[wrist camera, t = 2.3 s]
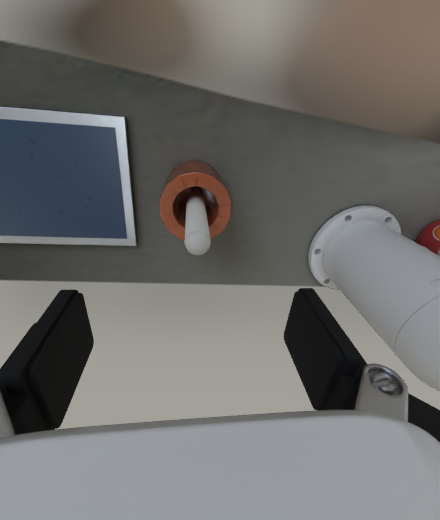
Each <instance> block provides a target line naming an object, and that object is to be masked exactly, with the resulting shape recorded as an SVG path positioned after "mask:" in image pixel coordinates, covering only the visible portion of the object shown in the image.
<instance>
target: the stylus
mask: <svg viewBox="0 0 440 520" xmlns="http://www.w3.org/2000/svg"><path fill="white" fill-rule="evenodd" d="M210 244H211V240H210V233H209V227H208V221H207V214H206V208H205V202H204V196H203V191H202V189H201V188H200V187H198V186H195V187H190V188H189V189H188V191H187V203H186V223H185V247H186V249H187V250H188V251H189V252H190V253H191V254H194V255H202V254H204V253H206V252H207V251H208V249H209V248H210Z"/></svg>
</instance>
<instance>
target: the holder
mask: <svg viewBox="0 0 440 520" xmlns="http://www.w3.org/2000/svg"><path fill="white" fill-rule="evenodd" d="M195 186H198V187H200V188H201V189H202V191H203V196H204V202H205V208H206V214H207V221H208V227H209V233H210V239H212V238H213V237H215V236H216V235H218V234H219V233H221V232H222V231H223V230H224V228H225V226H226V225H227V223H228V222H229V220H230V215H231V205H232V204H231V200H230V197H229V195H228V192H227V189H226V187H225V185H224V183H223V181H222V179H221V177H220V175H219V173H217V171H216V170H215V169H214V168H213V167H211V166H210V165H209V164H206V163H204V162H201V161H187V162H184V163H181V164H180V165H178V166H177V167H176V168H174V170H172V171H171V173H170V175H169V177H168V179H167V181H166V184H165V186H164V189H163V192H162V194H161V197H160V201H159V202H160V217H161V219H162V220H163V222H164V224H165V226H166V228H167V229H168V231H170V232H171V233H172V234H174V235H175V236H177V237H178V238H179V239H182V240H185V223H186V203H187V191H188V189H189V188H190V187H195Z"/></svg>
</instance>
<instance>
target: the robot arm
mask: <svg viewBox="0 0 440 520" xmlns="http://www.w3.org/2000/svg"><path fill="white" fill-rule="evenodd" d="M308 264H309V268H310V270H311V272H312V274H313V275H314V277H315V278H316V279H317V280H318V282H320V283H321V284H322V285H324V286H326V287H328V288H331V289H337V290H341V291H342V292H343V294H344V295H345V296H346V297H347V298H348V299H349V300H350V302H351V303H352V304H353V305H354V306H355V308H356V309H357V310H358V311H359V312H360V313H361V315H362V316H363V317H364V318H365V319H366V320H367V321H368V323H369V324H370V325H371V326H372V327H373V329H374V330H375V331H376V332H377V333H378V334H379V336H380V337H381V338H382V339H383V340H384V341H385V342H386V344H387V345H388V346H389V347H390V348H391V349H392V351H393V352H394V353H395V354H396V355H397V357H398V358H399V359H400V360H401V361H402V362H403V363H404V364H405V366H406V367H407V368H408V369H409V370H410V371H411V372H412V373H413V374H414V375H415V376H416V377H417V378H418V379H420V380H421V381H423V382H424V383H426V384H427V385H429V386H430V387H432V388H434V389H436V390H438V391H440V256H438V255H437V254H435V253H433V252H431V251H429V250H428V249H427V248H426V247H424V246H421V245H419V244H417V243H415V242H414V241H412V240H410V239H408V238H406V237H405V236H403V235H401V228H400V225H399V223H398V221H397V220H396V218H395V217H394V216H393V215H392V214H390V213H389V212H388V211H386V210H384V209H382V208H379V207H375V206H365V205H364V206H357V207H353V208H350V209H346V210H344V211H342V212H340V213H338V214H336V215H335V216H334V217H332V218H331V219H329V220H328V221H327V222H326V223H325V224H324V225H323V226H322V227H321V228H320V230H319V231H318V232H317V234H316V235H315V237H314V239H313V241H312V242H311V245H310V248H309V253H308ZM284 340H285V343H286V345H287V348H288V350H289V352H290V355H291V357H292V359H293V362H294V364H295V366H296V369H297V371H298V373H299V376H300V378H301V380H302V382H303V385H304V387H305V390H306V392H307V394H308V397H309V399H310V401H311V404H312V406H313V408H314V409H315V410H318V411H301V412H300V411H299V412H284V413H269V414H253V415H238V416H224V417H210V418H196V419H181V420H167V421H154V422H141V423H128V424H115V425H102V426H89V427H79V428H68V429H57V430H55V428H59V427H60V425H61V423H62V421H63V419H64V416H65V414H66V411H67V409H68V407H69V404H70V402H71V399H72V397H73V394H74V392H75V389H76V387H77V384H78V382H79V380H80V377H81V375H82V372H83V370H84V367H85V365H86V363H87V360H88V358H89V355H90V353H91V350H92V348H93V342H94V341H93V335H92V331H91V327H90V323H89V319H88V314H87V310H86V306H85V301H84V297H83V294H82V293H79V292H78V291H77V290H61V291H60V292H59V293H58V294H57V296H56V297H55V298H54V300H53V301H52V302H51V304H50V305H49V307H48V308H47V309H46V311H45V312H44V314H43V315H42V316H41V318H40V319H39V320H38V322H37V323H35V324H34V325H33V326H32V327H31V328H30V329H29V331H28V332H27V333H26V335H25V336H24V338H23V339H22V340H21V342H20V343H19V344H18V346H17V347H16V348H15V350H14V351H13V352H12V354H11V355H10V357H9V358H8V359H7V361H6V362H5V363H4V365H3V366H2V367H1V369H0V520H440V410H438V409H436V408H435V407H433V406H431V405H429V404H427V403H425V402H423V401H421V400H420V399H418V398H416V397H414V396H412V395H410V394H409V393H408V388H407V385H406V384H405V382H404V380H403V379H402V378H401V377H400V376H399V375H398V374H397V373H395V372H394V371H393V370H391V369H389V368H388V367H385V366H383V365H380V364H367V363H366V362H365V360H364V359H363V358H362V356H361V355H360V353H359V352H358V350H357V349H356V348H355V346H354V345H353V343H352V342H351V341H350V339H349V338H348V337H347V335H346V334H345V332H344V331H343V330H342V328H341V327H340V326H339V324H338V323H337V321H336V320H335V318H334V317H333V316H332V314H331V313H330V311H329V310H328V309H327V307H326V306H325V304H324V303H323V302H322V300H321V299H320V298H319V296H318V295H317V293H316V292H315V291H314V289H312V288H301V289H299V290H298V292H295V294H294V298H293V302H292V306H291V309H290V313H289V317H288V320H287V325H286V328H285V332H284Z"/></svg>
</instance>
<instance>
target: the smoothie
mask: <svg viewBox="0 0 440 520" xmlns="http://www.w3.org/2000/svg"><path fill="white" fill-rule="evenodd" d="M415 243H417V244H419V245H421V246H424V247H426V248H427V249H428V250H429V251H431V252H433V253H435V254H437V255H438V256H440V220H438V221H435V222H433V223H431V224H429V225H428V226H427V227H425V228H424V229H423V230H422V231H421V233H420V234H419V236H418V237H417V240H416V242H415Z"/></svg>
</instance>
